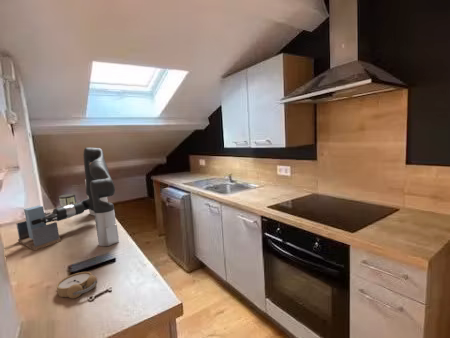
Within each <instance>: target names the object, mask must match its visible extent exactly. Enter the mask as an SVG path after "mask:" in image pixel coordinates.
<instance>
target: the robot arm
mask: <svg viewBox="0 0 450 338" xmlns="http://www.w3.org/2000/svg"><path fill="white" fill-rule="evenodd" d="M104 153H105V152H104V150H103V149H102V148H100V147H85V148H84V150H83V154H82V155H83V165H84V175H85V180H86V184H85V194H86V196H87V195H88V196H89V199H88V198H85V199H83V200H81V201H79V202H77V203H75V204H71V205H66V206H62V207H61V206H58V207H55V208H53V210H52V212H44V215H45V216H44V217H43V218H40V219H37V220H33V221H31V222H32V225H35V224H38V223H46V224H47V223H53V222H60V221H64V220H67V219H70V218H72V217H74V216H77V215H80V214H83V213H84V212H85V211H87V210H88V211H89V210H92V211H94V215H93V216H94V220H95V221H94V222H95V229H96V234H97V235H96V236H97V241H98V242H97V243H98V246H99V247H100V246H101V247H110V246H112V245H114V244H116V243H119V241H120V239H119V231H118V225H117V222H116V221H117V220H116V213H115V206H114V203H112V202H110V201H108V202H104V201H101V200H100V198H103V197H107V198H108V197H112V196H114V195H115V192H116V187H115V184H114V181H113V179H112V177H111V175H110V172H109V168H108V165H107V163H106V160H105V154H104Z"/></svg>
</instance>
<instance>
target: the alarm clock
mask: <svg viewBox="0 0 450 338" xmlns="http://www.w3.org/2000/svg"><path fill="white" fill-rule="evenodd" d="M97 284H98V279H97V276H95V275H93V274H92V272H91V271H81V272H76V273H73V274H70V275H67V276H66V277H64V278H62V279H61V280H60V281H58V282H57V284H56V291H57V295H58V297H61V298H70V299H78V298H79V297H80V296H81V295H82V294H84V293H87V292H90V290H93V289H95V287H96V286H97Z"/></svg>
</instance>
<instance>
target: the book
mask: <svg viewBox="0 0 450 338" xmlns="http://www.w3.org/2000/svg"><path fill="white" fill-rule="evenodd" d="M23 211H24V217H25V221H26V222H27V227H28V233H29V238H31V239H33V236H32V231H31V229H34V228H38V227H41V226H44V225H47V223H38V224H35V225H32V222H31V221H33V220H37V219H40V218H43V217H44V216H45V215H44V213H45V209H44V206H43V205H40V204H39V205H35V206H31V207H28V208H23Z"/></svg>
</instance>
